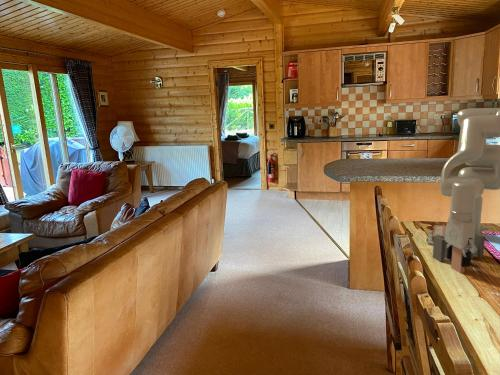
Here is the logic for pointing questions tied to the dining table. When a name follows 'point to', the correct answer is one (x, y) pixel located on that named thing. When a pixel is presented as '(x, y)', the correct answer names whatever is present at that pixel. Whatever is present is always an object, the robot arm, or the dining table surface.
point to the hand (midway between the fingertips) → (458, 261)
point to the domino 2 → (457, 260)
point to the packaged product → (436, 233)
